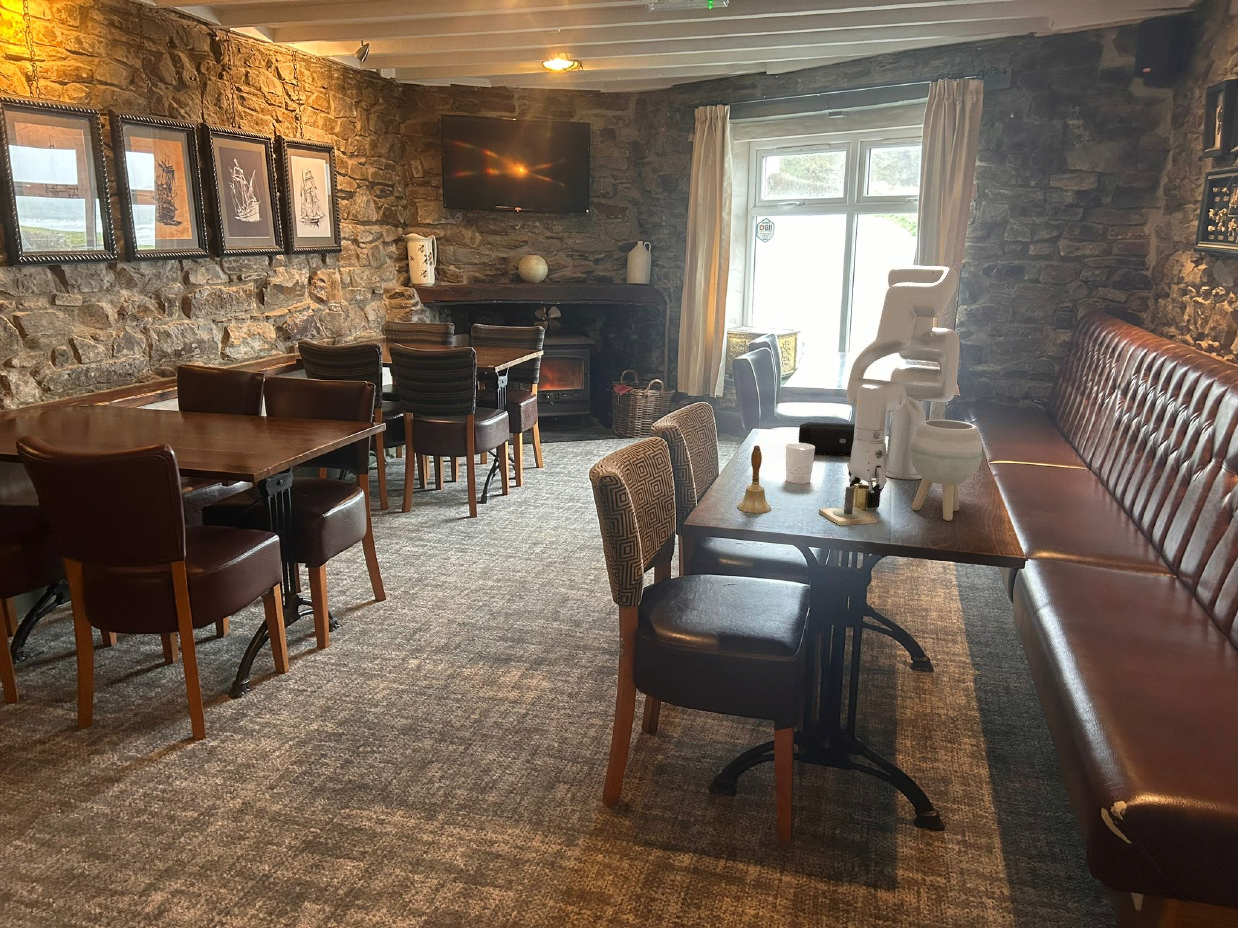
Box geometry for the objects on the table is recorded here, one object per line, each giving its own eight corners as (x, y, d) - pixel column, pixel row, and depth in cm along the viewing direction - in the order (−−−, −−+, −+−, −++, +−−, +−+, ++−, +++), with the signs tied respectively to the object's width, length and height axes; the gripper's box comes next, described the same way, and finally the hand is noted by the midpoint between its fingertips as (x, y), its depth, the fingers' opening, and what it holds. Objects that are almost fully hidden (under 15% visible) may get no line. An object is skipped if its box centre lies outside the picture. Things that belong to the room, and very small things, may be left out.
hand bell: (763, 515, 206) (767, 451, 202) (731, 509, 210) (735, 446, 206) (776, 507, 212) (780, 444, 209) (745, 501, 217) (748, 440, 213)
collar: (867, 502, 218) (869, 483, 217) (880, 508, 213) (882, 489, 211) (846, 503, 217) (848, 484, 215) (859, 510, 211) (860, 490, 210)
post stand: (855, 510, 211) (857, 481, 209) (877, 522, 201) (880, 492, 200) (818, 512, 208) (821, 483, 206) (839, 525, 199) (841, 494, 197)
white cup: (812, 485, 233) (815, 449, 231) (783, 483, 235) (785, 448, 232) (812, 478, 241) (814, 443, 238) (783, 476, 242) (786, 442, 240)
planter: (968, 507, 215) (978, 420, 210) (979, 526, 200) (991, 433, 195) (901, 502, 219) (910, 416, 213) (907, 520, 204) (917, 428, 198)
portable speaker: (799, 456, 267) (801, 425, 265) (797, 449, 277) (799, 419, 274) (883, 460, 264) (886, 428, 261) (878, 453, 273) (881, 422, 271)
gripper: (903, 441, 203) (896, 512, 207) (864, 427, 219) (858, 492, 224) (875, 442, 201) (868, 513, 205) (838, 428, 217) (833, 494, 222)
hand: (863, 502), depth 214 cm, fingers open, 7 cm apart
